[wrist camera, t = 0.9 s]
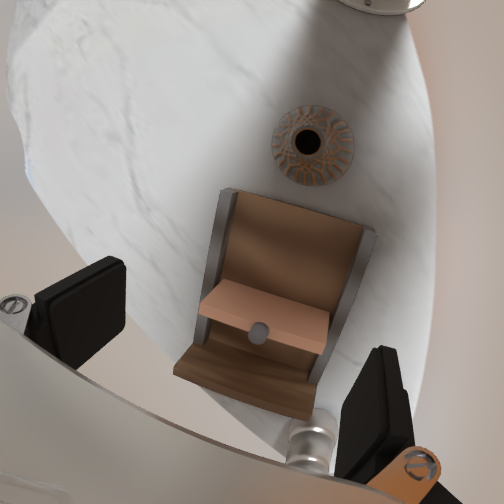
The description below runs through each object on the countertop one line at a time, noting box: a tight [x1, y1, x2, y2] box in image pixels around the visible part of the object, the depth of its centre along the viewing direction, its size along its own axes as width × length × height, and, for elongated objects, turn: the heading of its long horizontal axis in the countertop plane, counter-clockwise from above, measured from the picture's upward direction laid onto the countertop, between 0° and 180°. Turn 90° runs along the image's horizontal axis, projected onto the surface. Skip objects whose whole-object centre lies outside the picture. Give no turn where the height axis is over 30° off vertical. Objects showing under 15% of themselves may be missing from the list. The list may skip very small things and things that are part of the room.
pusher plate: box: [198, 279, 330, 355], centre depth 30 cm, size 2×12×8 cm, turn 76°
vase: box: [272, 105, 354, 186], centre depth 24 cm, size 7×7×9 cm
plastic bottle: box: [285, 408, 338, 475], centre depth 28 cm, size 6×7×20 cm
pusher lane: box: [173, 188, 377, 422], centre depth 30 cm, size 19×15×8 cm
